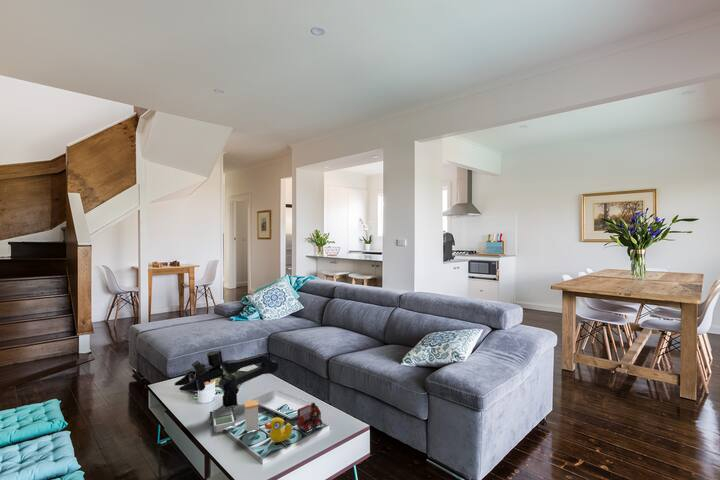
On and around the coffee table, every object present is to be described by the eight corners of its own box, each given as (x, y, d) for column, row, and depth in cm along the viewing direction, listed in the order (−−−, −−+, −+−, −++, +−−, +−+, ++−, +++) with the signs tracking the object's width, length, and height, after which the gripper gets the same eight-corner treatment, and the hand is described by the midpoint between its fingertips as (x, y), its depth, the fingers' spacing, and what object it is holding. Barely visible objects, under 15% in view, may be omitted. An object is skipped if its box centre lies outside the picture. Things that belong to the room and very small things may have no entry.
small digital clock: (233, 412, 186) (233, 405, 186) (237, 427, 171) (237, 420, 171) (209, 417, 182) (209, 410, 182) (211, 433, 166) (211, 426, 166)
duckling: (266, 448, 154) (265, 423, 154) (263, 441, 159) (263, 418, 159) (293, 441, 159) (292, 417, 159) (290, 435, 164) (289, 412, 163)
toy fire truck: (325, 425, 172) (325, 402, 171) (303, 435, 163) (302, 411, 163) (315, 420, 176) (315, 398, 176) (294, 430, 168) (293, 407, 168)
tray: (291, 424, 173) (290, 417, 173) (250, 406, 193) (250, 399, 193) (317, 411, 186) (317, 403, 186) (277, 395, 206) (276, 388, 206)
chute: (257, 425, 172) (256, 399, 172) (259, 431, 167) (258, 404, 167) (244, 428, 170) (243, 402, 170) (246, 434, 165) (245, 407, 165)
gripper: (201, 355, 195) (169, 366, 185) (213, 362, 181) (179, 374, 171) (205, 376, 196) (173, 388, 186) (217, 384, 181) (183, 398, 172)
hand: (177, 386), depth 179 cm, fingers open, 9 cm apart
